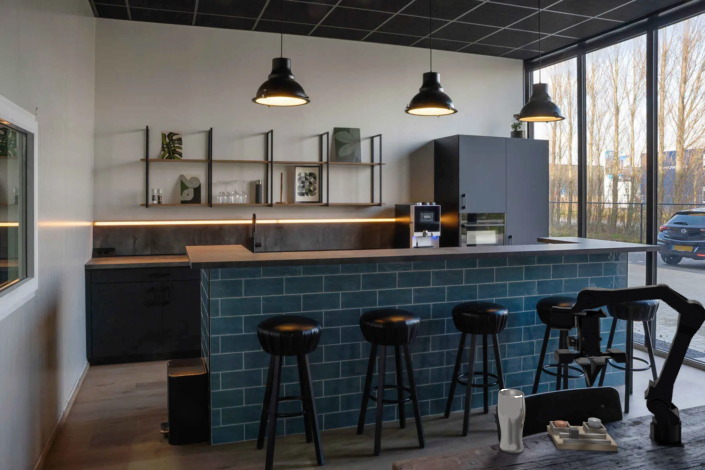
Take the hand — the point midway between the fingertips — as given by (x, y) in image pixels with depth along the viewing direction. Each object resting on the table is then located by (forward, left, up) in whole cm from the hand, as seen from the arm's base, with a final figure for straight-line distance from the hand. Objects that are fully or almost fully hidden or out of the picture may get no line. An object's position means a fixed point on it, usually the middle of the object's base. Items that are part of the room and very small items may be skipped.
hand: (590, 385), depth 153 cm
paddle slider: (+8, +11, -11) cm, 18 cm away
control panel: (+5, +8, -13) cm, 16 cm away
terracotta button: (+10, +5, -11) cm, 15 cm away
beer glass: (+25, +14, -13) cm, 31 cm away
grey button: (+1, +5, -10) cm, 11 cm away
